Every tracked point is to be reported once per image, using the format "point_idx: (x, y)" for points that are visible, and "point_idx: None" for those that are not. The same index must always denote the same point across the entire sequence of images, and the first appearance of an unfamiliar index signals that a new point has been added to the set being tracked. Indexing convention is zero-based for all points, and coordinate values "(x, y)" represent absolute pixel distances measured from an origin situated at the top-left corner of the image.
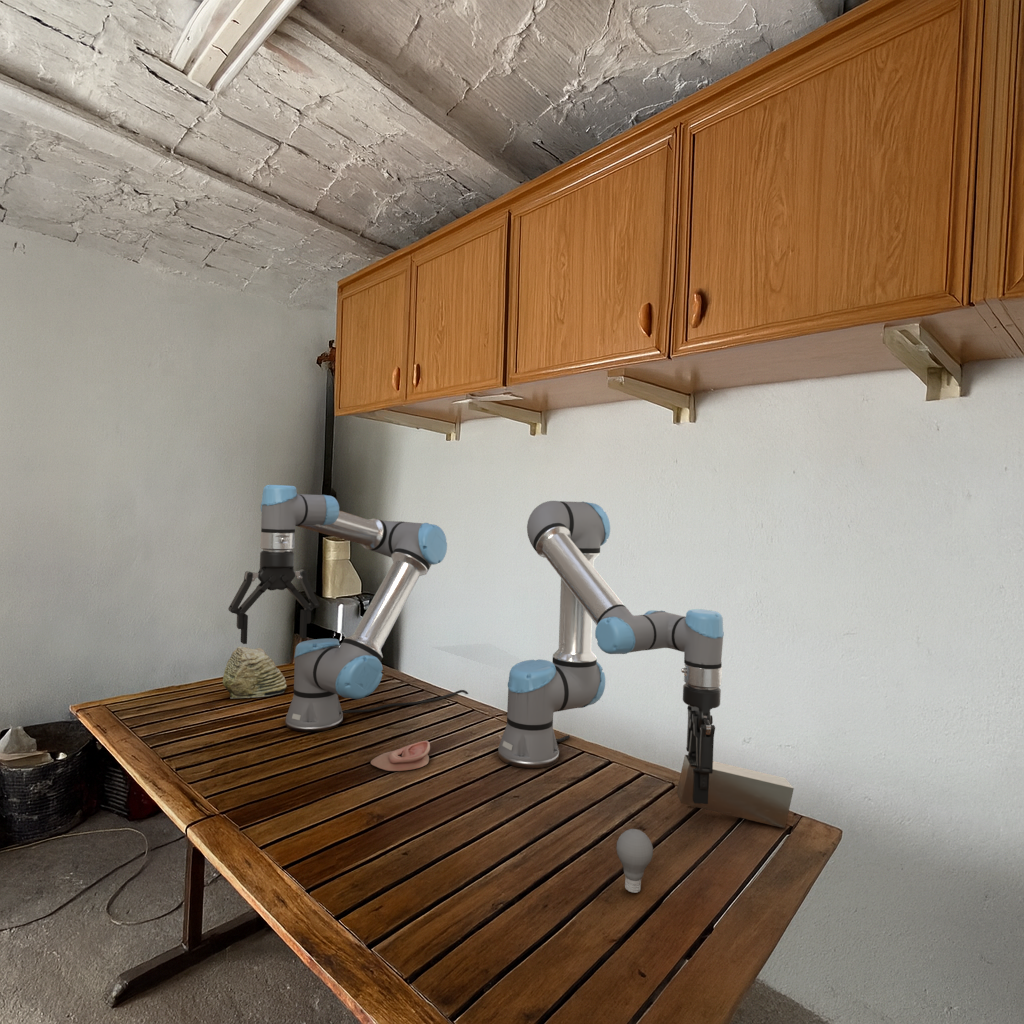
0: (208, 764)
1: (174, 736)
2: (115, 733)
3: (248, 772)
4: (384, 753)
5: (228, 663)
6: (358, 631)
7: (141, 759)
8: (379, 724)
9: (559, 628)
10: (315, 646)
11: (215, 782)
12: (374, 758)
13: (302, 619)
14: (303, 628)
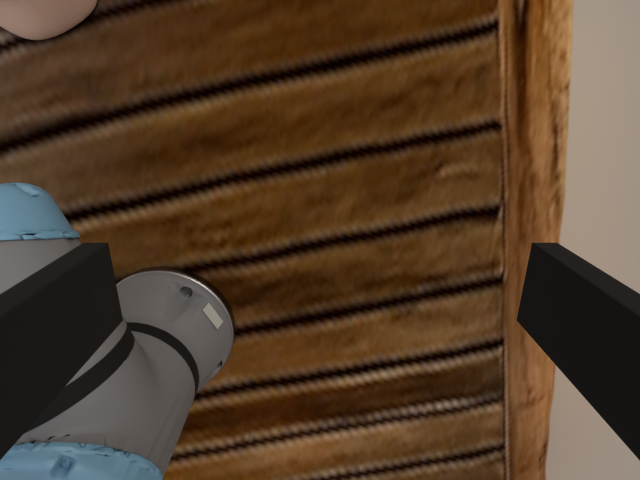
0: (436, 205)
1: (449, 377)
2: (533, 434)
3: (377, 116)
4: (46, 10)
5: None
6: None
7: None
8: None
9: None
10: (63, 462)
11: (453, 99)
12: (80, 5)
13: (8, 362)
14: (58, 278)
